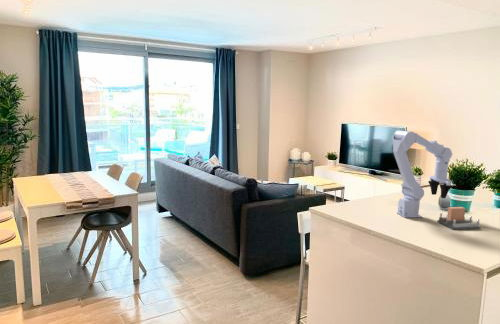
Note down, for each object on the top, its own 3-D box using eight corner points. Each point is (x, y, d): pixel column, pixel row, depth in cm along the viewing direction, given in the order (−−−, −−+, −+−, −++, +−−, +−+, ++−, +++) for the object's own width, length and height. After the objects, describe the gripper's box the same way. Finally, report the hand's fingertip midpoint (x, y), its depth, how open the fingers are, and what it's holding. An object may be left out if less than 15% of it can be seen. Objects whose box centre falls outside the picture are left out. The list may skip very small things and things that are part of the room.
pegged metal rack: (452, 229, 171) (454, 220, 171) (437, 222, 182) (438, 213, 182) (480, 229, 174) (481, 219, 173) (463, 221, 184) (464, 212, 184)
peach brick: (450, 222, 178) (451, 208, 177) (446, 221, 181) (448, 207, 180) (463, 222, 179) (465, 208, 178) (460, 221, 182) (461, 206, 181)
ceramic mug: (440, 205, 214) (441, 192, 212) (456, 208, 208) (458, 194, 207) (435, 209, 205) (437, 196, 204) (452, 212, 200) (453, 198, 199)
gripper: (458, 172, 187) (455, 199, 189) (439, 167, 201) (436, 192, 203) (445, 172, 186) (442, 199, 188) (427, 167, 200) (424, 192, 202)
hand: (438, 196), depth 195 cm, fingers open, 7 cm apart
